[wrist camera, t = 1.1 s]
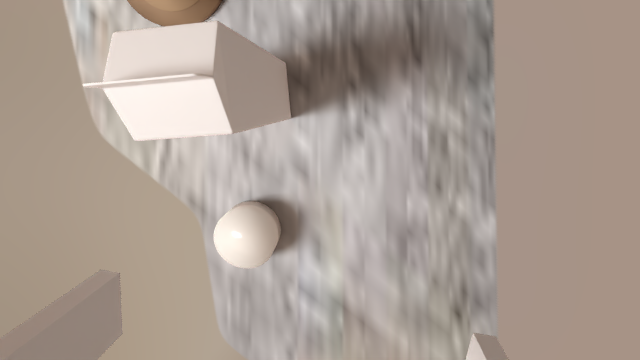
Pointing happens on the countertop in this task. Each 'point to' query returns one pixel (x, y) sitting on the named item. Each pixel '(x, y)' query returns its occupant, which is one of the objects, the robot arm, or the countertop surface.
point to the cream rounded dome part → (247, 234)
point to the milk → (193, 82)
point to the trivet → (175, 10)
